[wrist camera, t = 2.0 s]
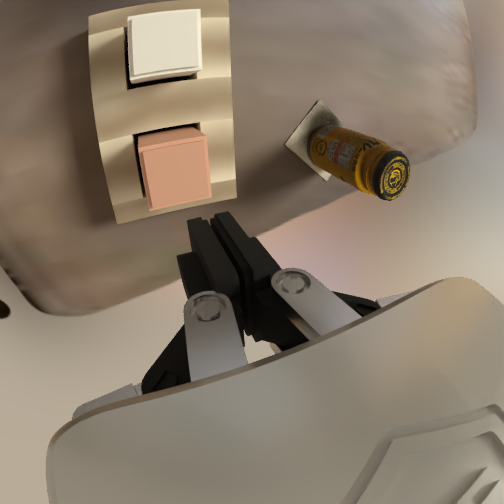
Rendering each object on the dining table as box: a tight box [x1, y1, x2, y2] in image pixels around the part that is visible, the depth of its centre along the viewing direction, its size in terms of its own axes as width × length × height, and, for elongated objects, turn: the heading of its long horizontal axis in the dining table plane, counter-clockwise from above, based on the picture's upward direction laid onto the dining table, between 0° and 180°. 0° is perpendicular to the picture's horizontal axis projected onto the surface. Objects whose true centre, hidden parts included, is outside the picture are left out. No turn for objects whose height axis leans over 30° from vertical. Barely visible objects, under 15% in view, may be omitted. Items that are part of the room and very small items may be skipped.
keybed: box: [89, 0, 237, 224], centre depth 21 cm, size 20×12×4 cm, turn 2°
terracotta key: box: [138, 127, 212, 211], centre depth 21 cm, size 5×5×6 cm
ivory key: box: [128, 9, 203, 84], centre depth 16 cm, size 5×5×6 cm
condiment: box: [285, 100, 410, 201], centre depth 27 cm, size 7×8×12 cm
